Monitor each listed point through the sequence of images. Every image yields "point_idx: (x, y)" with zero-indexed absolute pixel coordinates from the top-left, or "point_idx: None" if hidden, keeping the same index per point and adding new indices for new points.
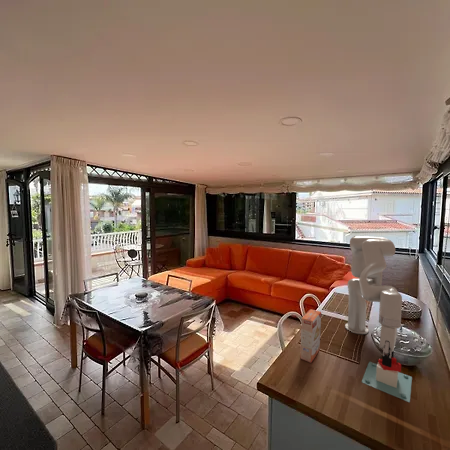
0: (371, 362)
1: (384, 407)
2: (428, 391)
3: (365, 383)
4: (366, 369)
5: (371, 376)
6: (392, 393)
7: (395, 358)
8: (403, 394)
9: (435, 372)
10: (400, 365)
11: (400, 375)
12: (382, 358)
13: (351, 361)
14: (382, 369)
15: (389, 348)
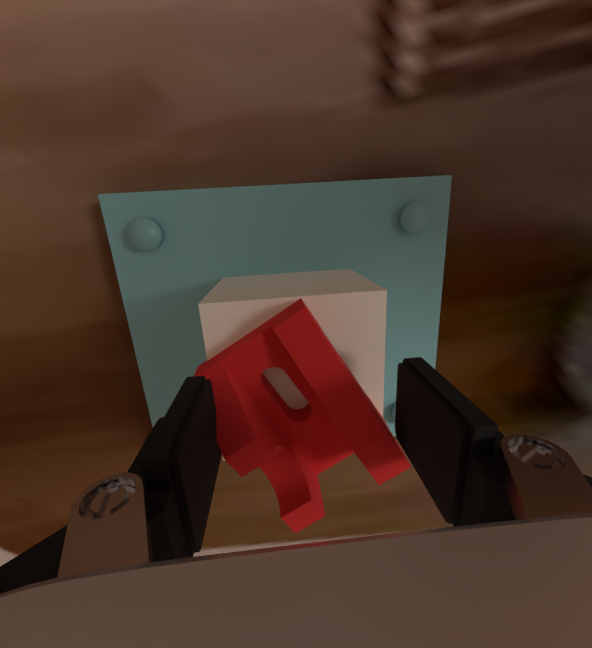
0: (446, 194)
1: (23, 361)
2: (363, 487)
3: (109, 225)
4: (310, 185)
5: (241, 240)
6: (160, 384)
7: (394, 474)
8: None
9: None
10: (289, 521)
11: None
12: (160, 424)
13: (381, 28)
14: (209, 352)
15: (476, 500)
